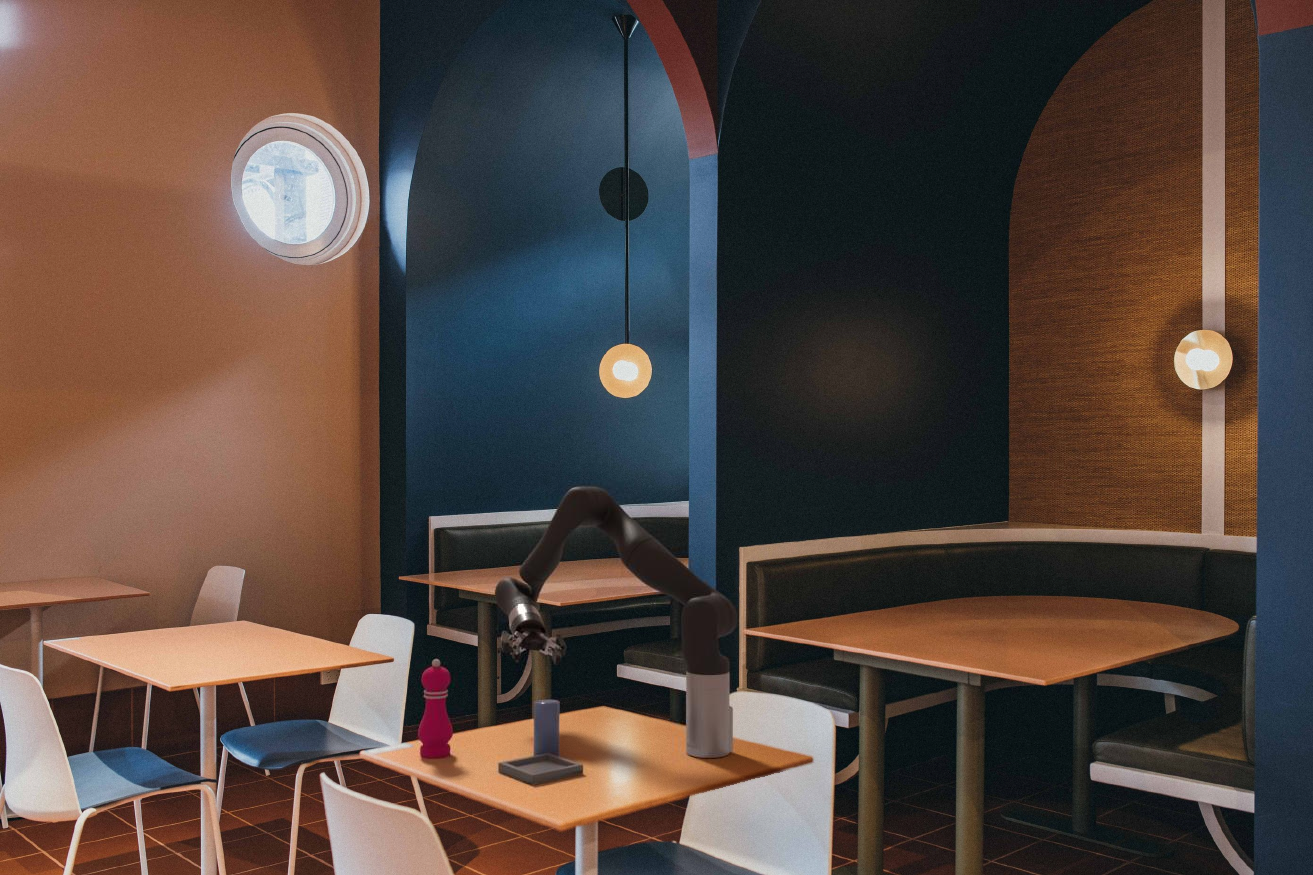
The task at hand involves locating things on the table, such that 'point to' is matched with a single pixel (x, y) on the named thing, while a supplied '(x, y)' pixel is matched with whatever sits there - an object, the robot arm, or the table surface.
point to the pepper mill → (435, 713)
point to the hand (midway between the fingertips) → (538, 659)
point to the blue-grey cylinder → (546, 727)
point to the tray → (540, 768)
